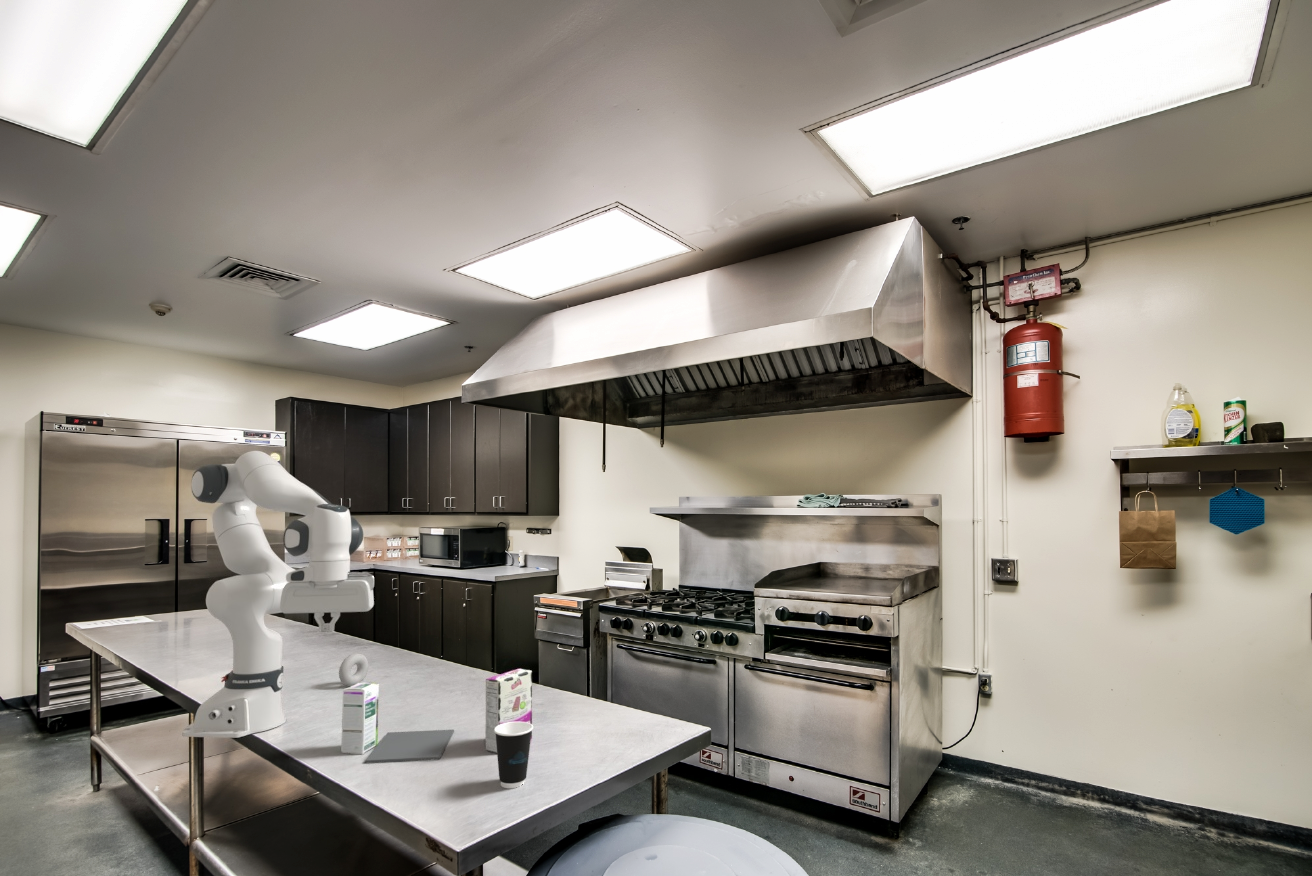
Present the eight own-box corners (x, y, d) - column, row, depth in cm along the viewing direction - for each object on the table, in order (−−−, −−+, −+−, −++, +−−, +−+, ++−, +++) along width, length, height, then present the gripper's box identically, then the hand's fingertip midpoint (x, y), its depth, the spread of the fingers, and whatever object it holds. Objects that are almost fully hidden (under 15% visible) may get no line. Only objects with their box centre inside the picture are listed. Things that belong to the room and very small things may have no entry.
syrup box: (362, 754, 148) (365, 689, 150) (339, 753, 150) (342, 688, 151) (377, 745, 154) (380, 682, 156) (355, 744, 155) (358, 681, 157)
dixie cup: (518, 794, 128) (519, 736, 129) (484, 788, 131) (486, 731, 132) (539, 778, 135) (540, 723, 136) (507, 773, 138) (508, 719, 139)
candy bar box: (517, 736, 160) (518, 667, 162) (532, 739, 158) (533, 670, 159) (483, 750, 151) (484, 677, 153) (498, 755, 148) (500, 680, 150)
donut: (342, 690, 200) (344, 657, 202) (335, 689, 202) (337, 656, 203) (370, 682, 209) (371, 650, 210) (363, 681, 211) (364, 649, 212)
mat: (364, 763, 143) (364, 760, 144) (387, 735, 161) (387, 732, 161) (439, 759, 146) (439, 756, 146) (454, 731, 163) (454, 729, 163)
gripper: (378, 570, 160) (376, 627, 158) (290, 571, 157) (287, 630, 155) (370, 573, 153) (368, 633, 152) (278, 574, 151) (275, 635, 149)
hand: (326, 631), depth 154 cm, fingers closed
